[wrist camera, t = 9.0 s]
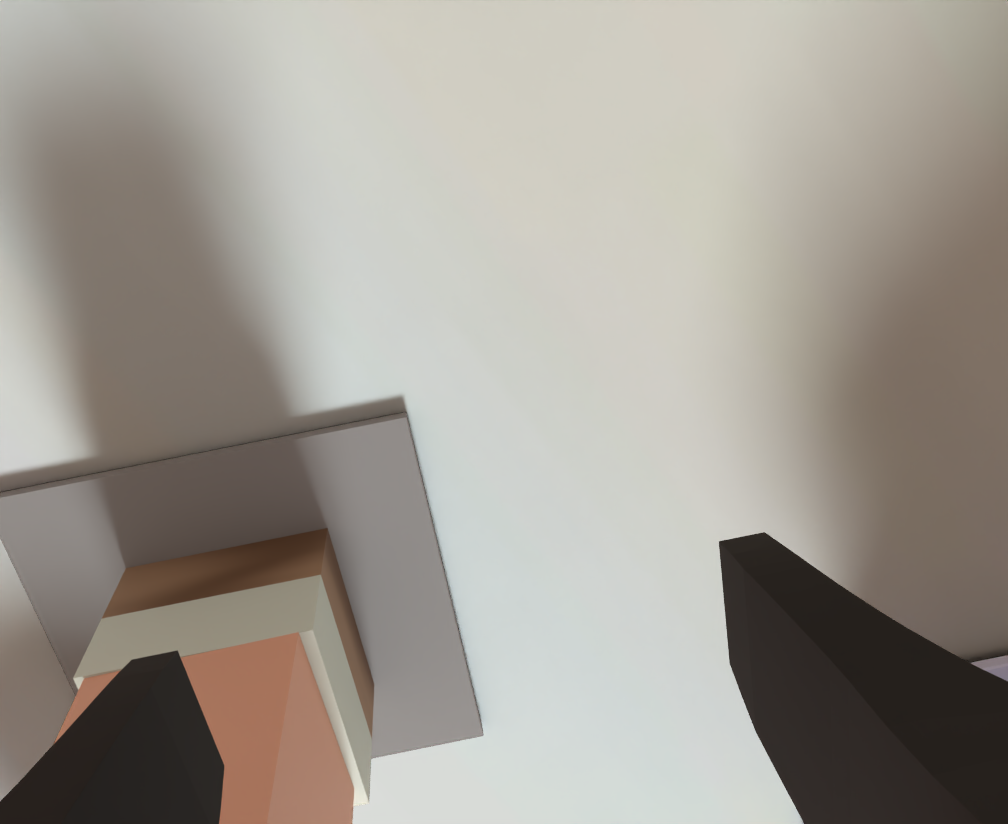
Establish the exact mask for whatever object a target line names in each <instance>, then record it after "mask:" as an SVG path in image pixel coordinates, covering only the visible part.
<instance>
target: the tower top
mask: <svg viewBox="0 0 1008 824" xmlns="http://www.w3.org/2000/svg"><path fill="white" fill-rule="evenodd" d="M297 632H299V635H300V638H301V640H302V643H303V646H304V649H305V652H306V655H307V657H308V660H309V663H310V666H311V669H312V671H313V674H314V677H315V680H316V683H317V685H318V688H319V691H320V694H321V697H322V699H323V702H324V705H325V708H326V711H327V713H328V716H329V719H330V722H331V725H332V727H333V730H334V733H335V736H336V739H337V741H338V744H339V747H340V750H341V753H342V755H343V758H344V761H345V764H346V767H347V770H348V772H349V775H350V778H351V781H352V784H353V786H354V802H353V806H358V805H363V804H368V803H369V794H370V772H371V750H372V738H371V735H370V732H369V728H368V725H367V722H366V719H365V715H364V712H363V709H362V706H361V703H360V699H359V696H358V693H357V690H356V686H355V683H354V680H353V677H352V674H351V670H350V667H349V664H348V661H347V657H346V654H345V651H344V648H343V645H342V641H341V638H340V635H339V632H338V628H337V625H336V622H335V619H334V616H333V612H332V609H331V606H330V603H329V599H328V596H327V593H326V590H325V587H324V583H323V580H322V577H321V575H317V576H312V577H307V578H302V579H297V580H292V581H287V582H282V583H277V584H272V585H267V586H262V587H257V588H252V589H247V590H242V591H237V592H232V593H227V594H222V595H217V596H212V597H207V598H202V599H197V600H192V601H187V602H182V603H177V604H172V605H167V606H162V607H157V608H152V609H147V610H142V611H137V612H132V613H127V614H122V615H117V616H112V617H107V618H102V619H101V621H100V623H99V625H98V627H97V629H96V631H95V633H94V636H93V638H92V640H91V642H90V644H89V646H88V648H87V650H86V652H85V654H84V656H83V659H82V661H81V663H80V665H79V667H78V669H77V671H76V673H75V675H74V677H73V679H74V681H75V684H76V686H77V688H78V690H79V688H80V686H81V684H82V682H83V680H84V678H89V677H93V676H98V675H103V674H107V673H112V672H116V671H121V670H122V669H123V668H124V667H125V666H126V665H127V664H128V663H129V662H130V661H131V660H132V659H137V658H142V657H147V656H152V655H157V654H162V653H167V652H172V651H177V650H178V653H179V655H180V658H181V657H186V656H190V655H195V654H200V653H204V652H209V651H214V650H218V649H223V648H227V647H232V646H237V645H241V644H246V643H251V642H255V641H260V640H264V639H269V638H274V637H278V636H283V635H288V634H292V633H297Z"/></svg>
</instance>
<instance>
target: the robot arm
mask: <svg viewBox="0 0 1008 824" xmlns="http://www.w3.org/2000/svg"><path fill="white" fill-rule="evenodd" d="M719 547H720V559H721V570H722V581H723V593H724V604H725V615H726V626H727V638H728V649H729V660H730V665H731V668H732V671H733V673H734V676H735V679H736V681H737V684H738V687H739V689H740V692H741V695H742V697H743V700H744V703H745V705H746V708H747V710H748V713H749V715H750V718H751V720H752V723H753V726H754V728H755V731H756V733H757V735H758V737H759V738H760V740H761V742H762V744H763V746H764V748H765V750H766V752H767V754H768V756H769V758H770V760H771V761H772V763H773V765H774V767H775V769H776V771H777V773H778V775H779V777H780V779H781V780H782V782H783V784H784V786H785V788H786V790H787V792H788V794H789V796H790V797H791V799H792V801H793V803H794V805H795V807H796V809H797V811H798V812H799V814H800V816H801V818H802V820H803V822H804V824H1008V655H1006V656H1001V657H996V658H991V659H986V660H981V661H976V662H972V663H969V662H967V661H965V660H963V659H961V658H959V657H958V656H956V655H954V654H952V653H950V652H948V651H946V650H945V649H943V648H941V647H939V646H938V645H936V644H934V643H932V642H931V641H929V640H927V639H925V638H924V637H922V636H920V635H918V634H916V633H915V632H913V631H911V630H909V629H908V628H906V627H904V626H903V625H901V624H899V623H898V622H896V621H895V620H893V619H891V618H890V617H888V616H886V615H885V614H883V613H882V612H880V611H878V610H877V609H875V608H874V607H872V606H871V605H869V604H868V603H866V602H865V601H863V600H861V599H860V598H858V597H857V596H855V595H854V594H852V593H851V592H849V591H848V590H846V589H845V588H843V587H842V586H840V585H839V584H837V583H836V582H835V581H833V580H832V579H830V578H829V577H827V576H826V575H825V574H823V573H822V572H820V571H819V570H817V569H816V568H815V567H813V566H812V565H810V564H809V563H807V562H806V561H805V560H803V559H802V558H800V557H799V556H798V555H796V554H795V553H793V552H792V551H791V550H789V549H788V548H786V547H785V546H783V545H782V544H781V543H779V542H778V541H776V540H775V539H773V538H772V537H771V536H769V535H768V534H766V533H765V532H764V533H759V534H754V535H749V536H744V537H739V538H734V539H729V540H724V541H719ZM223 778H224V763H223V761H222V758H221V756H220V753H219V751H218V749H217V746H216V744H215V741H214V739H213V736H212V734H211V731H210V729H209V726H208V724H207V722H206V719H205V717H204V714H203V712H202V709H201V707H200V704H199V702H198V699H197V697H196V694H195V692H194V690H193V687H192V685H191V682H190V680H189V677H188V675H187V672H186V670H185V667H184V665H183V662H182V660H181V658H180V655H179V653H178V650H177V651H172V652H167V653H162V654H157V655H152V656H147V657H142V658H137V659H132V660H131V661H130V662H129V663H128V664H127V665H126V666H125V667H124V668H123V669H122V670H121V671H120V672H119V673H118V674H117V675H116V676H115V677H114V678H113V679H112V680H111V681H110V682H109V684H108V685H107V686H106V687H105V688H104V689H103V690H102V691H101V692H100V693H99V695H98V696H97V697H96V698H95V699H94V700H93V701H92V702H91V703H90V705H89V706H88V707H87V708H86V709H85V710H84V711H83V712H82V714H81V715H80V716H79V717H78V718H77V719H76V720H75V721H74V723H73V724H72V725H71V726H70V727H69V728H68V729H67V730H66V731H65V733H64V734H63V735H62V736H61V737H60V738H59V739H58V740H57V741H56V742H55V744H54V745H53V746H52V747H51V748H50V749H49V750H48V751H47V752H46V753H45V755H44V756H43V757H42V758H41V759H40V760H39V761H38V762H37V763H36V764H35V766H34V767H33V768H32V769H31V770H30V771H29V772H28V773H27V774H26V775H25V777H24V778H23V779H22V780H21V781H20V782H19V783H18V784H17V785H16V786H15V787H14V788H13V789H12V790H11V791H10V792H9V793H8V794H7V795H6V796H5V797H4V798H3V799H2V800H1V801H0V824H219V820H220V811H221V801H222V790H223Z"/></svg>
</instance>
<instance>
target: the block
mask: <svg viewBox="0 0 1008 824" xmlns="http://www.w3.org/2000/svg"><path fill="white" fill-rule="evenodd" d="M181 660H182V662H183V665H184V667H185V670H186V672H187V675H188V677H189V680H190V682H191V685H192V687H193V690H194V692H195V694H196V697H197V699H198V702H199V704H200V707H201V709H202V712H203V714H204V717H205V719H206V722H207V724H208V726H209V729H210V731H211V734H212V736H213V739H214V741H215V744H216V746H217V749H218V751H219V753H220V756H221V758H222V761H223V763H224V778H223V790H222V801H221V811H220V820H219V824H352V818H353V802H354V786H353V784H352V781H351V778H350V775H349V772H348V770H347V767H346V764H345V761H344V758H343V755H342V753H341V750H340V747H339V744H338V741H337V739H336V736H335V733H334V730H333V727H332V725H331V722H330V719H329V716H328V713H327V711H326V708H325V705H324V702H323V699H322V697H321V694H320V691H319V688H318V685H317V683H316V680H315V677H314V674H313V671H312V669H311V666H310V663H309V660H308V657H307V655H306V652H305V649H304V646H303V643H302V640H301V638H300V635H299V632H297V633H292V634H288V635H283V636H278V637H274V638H269V639H264V640H260V641H255V642H251V643H246V644H241V645H237V646H232V647H227V648H223V649H218V650H214V651H209V652H204V653H200V654H195V655H190V656H186V657H181ZM119 672H120V671H116V672H112V673H107V674H103V675H98V676H93V677H89V678H84V680H83V682H82V684H81V686H80V688H79V690H78V692H77V695H76V697H75V699H74V701H73V703H72V705H71V708H70V710H69V712H68V714H67V716H66V718H65V721H64V723H63V725H62V727H61V729H60V731H59V733H58V736H57V738H56V740H55V742H56V741H57V740H58V739H59V738H60V737H61V736H62V735H63V734H64V733H65V731H66V730H67V729H68V728H69V727H70V726H71V725H72V724H73V723H74V721H75V720H76V719H77V718H78V717H79V716H80V715H81V714H82V712H83V711H84V710H85V709H86V708H87V707H88V706H89V705H90V703H91V702H92V701H93V700H94V699H95V698H96V697H97V696H98V695H99V693H100V692H101V691H102V690H103V689H104V688H105V687H106V686H107V685H108V684H109V682H110V681H111V680H112V679H113V678H114V677H115V676H116V675H117V674H118V673H119ZM55 742H54V744H55ZM54 744H53V745H54Z"/></svg>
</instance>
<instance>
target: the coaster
mask: <svg viewBox="0 0 1008 824" xmlns="http://www.w3.org/2000/svg"><path fill="white" fill-rule="evenodd" d="M325 528H328V531H329V535H330V538H331V541H332V545H333V548H334V551H335V555H336V558H337V561H338V565H339V568H340V571H341V575H342V578H343V581H344V585H345V588H346V592H347V595H348V598H349V602H350V605H351V608H352V612H353V615H354V618H355V622H356V625H357V628H358V632H359V635H360V638H361V642H362V645H363V648H364V652H365V655H366V658H367V662H368V665H369V668H370V672H371V675H372V678H373V682H374V705H373V727H372V750H371V759H372V758H376V757H381V756H386V755H391V754H396V753H401V752H406V751H411V750H416V749H421V748H426V747H431V746H435V745H440V744H445V743H450V742H455V741H460V740H465V739H470V738H475V737H480V736H483V729H482V725H481V720H480V716H479V712H478V708H477V704H476V700H475V696H474V691H473V687H472V683H471V679H470V675H469V671H468V667H467V662H466V658H465V654H464V650H463V646H462V642H461V638H460V633H459V629H458V625H457V621H456V617H455V613H454V609H453V604H452V600H451V596H450V592H449V588H448V584H447V580H446V576H445V571H444V567H443V563H442V559H441V555H440V551H439V547H438V542H437V538H436V534H435V530H434V526H433V522H432V518H431V513H430V509H429V505H428V501H427V497H426V493H425V489H424V484H423V480H422V476H421V472H420V468H419V464H418V460H417V455H416V451H415V447H414V443H413V439H412V435H411V431H410V426H409V422H408V418H407V414H406V412H404V413H399V414H394V415H389V416H384V417H378V418H373V419H368V420H363V421H358V422H353V423H348V424H343V425H338V426H333V427H328V428H323V429H318V430H313V431H308V432H303V433H298V434H293V435H288V436H283V437H278V438H273V439H268V440H262V441H257V442H252V443H247V444H242V445H237V446H232V447H227V448H222V449H217V450H212V451H207V452H202V453H197V454H192V455H187V456H182V457H177V458H172V459H167V460H162V461H157V462H152V463H146V464H141V465H136V466H131V467H126V468H121V469H116V470H111V471H106V472H101V473H96V474H91V475H86V476H81V477H76V478H71V479H66V480H61V481H56V482H51V483H46V484H41V485H35V486H30V487H25V488H20V489H15V490H10V491H5V492H0V539H1V541H2V543H3V545H4V547H5V549H6V551H7V553H8V555H9V557H10V560H11V562H12V564H13V566H14V568H15V570H16V572H17V574H18V576H19V578H20V580H21V583H22V585H23V587H24V589H25V591H26V593H27V595H28V597H29V599H30V601H31V603H32V606H33V608H34V610H35V612H36V614H37V616H38V618H39V620H40V622H41V624H42V626H43V629H44V631H45V633H46V635H47V637H48V639H49V641H50V643H51V645H52V647H53V650H54V652H55V654H56V656H57V658H58V660H59V662H60V664H61V666H62V668H63V670H64V673H65V675H66V677H67V679H68V681H69V683H70V685H71V687H72V689H73V691H74V693H75V696H76V695H77V692H78V688H77V686H76V684H75V681H74V679H73V677H74V675H75V673H76V671H77V669H78V667H79V665H80V663H81V661H82V659H83V656H84V654H85V652H86V650H87V648H88V646H89V644H90V642H91V640H92V638H93V636H94V633H95V631H96V629H97V627H98V625H99V623H100V621H101V619H102V617H103V615H104V613H105V611H106V608H107V606H108V604H109V602H110V600H111V598H112V596H113V594H114V592H115V590H116V588H117V586H118V583H119V581H120V579H121V577H122V575H123V573H124V571H125V569H126V568H130V567H135V566H140V565H145V564H150V563H155V562H160V561H165V560H170V559H175V558H180V557H185V556H190V555H195V554H200V553H205V552H210V551H215V550H220V549H225V548H230V547H235V546H240V545H245V544H250V543H255V542H260V541H265V540H270V539H275V538H280V537H285V536H290V535H295V534H300V533H305V532H310V531H315V530H320V529H325Z"/></svg>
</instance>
